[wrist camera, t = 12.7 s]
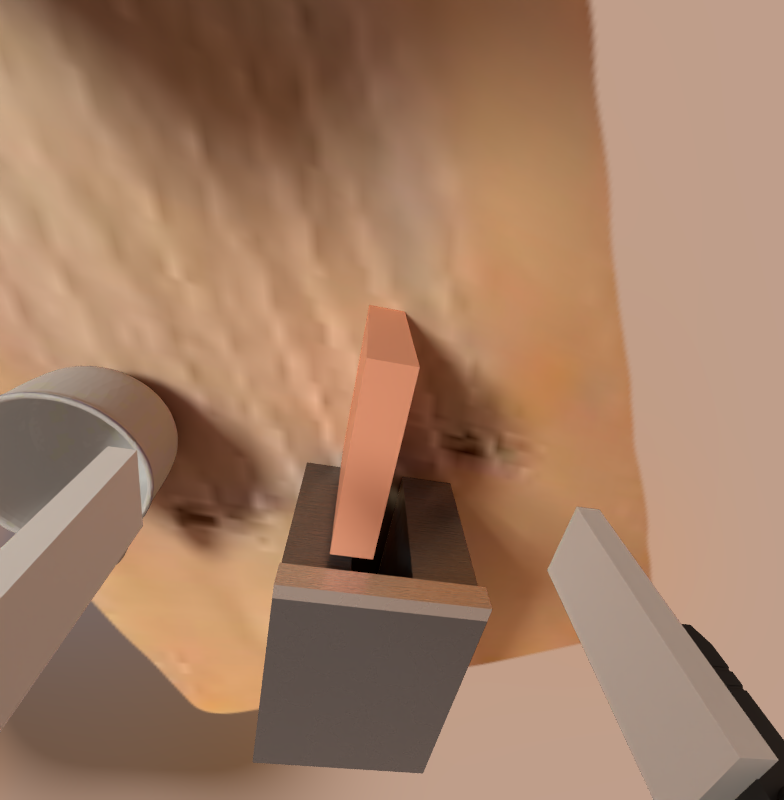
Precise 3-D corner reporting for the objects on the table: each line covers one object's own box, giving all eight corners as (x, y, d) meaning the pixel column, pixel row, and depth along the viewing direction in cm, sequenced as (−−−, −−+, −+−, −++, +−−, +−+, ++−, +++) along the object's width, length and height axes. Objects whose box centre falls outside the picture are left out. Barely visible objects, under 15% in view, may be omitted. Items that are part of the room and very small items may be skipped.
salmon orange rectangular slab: (369, 304, 29) (366, 358, 19) (404, 311, 30) (419, 367, 20) (342, 451, 34) (329, 554, 24) (373, 456, 35) (372, 559, 25)
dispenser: (308, 452, 34) (274, 584, 22) (453, 474, 36) (492, 609, 24) (287, 601, 41) (252, 762, 29) (409, 614, 42) (422, 773, 31)
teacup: (34, 338, 30) (-76, 382, 22) (196, 362, 31) (141, 412, 23) (62, 499, 35) (-19, 576, 28) (198, 514, 36) (154, 592, 29)
